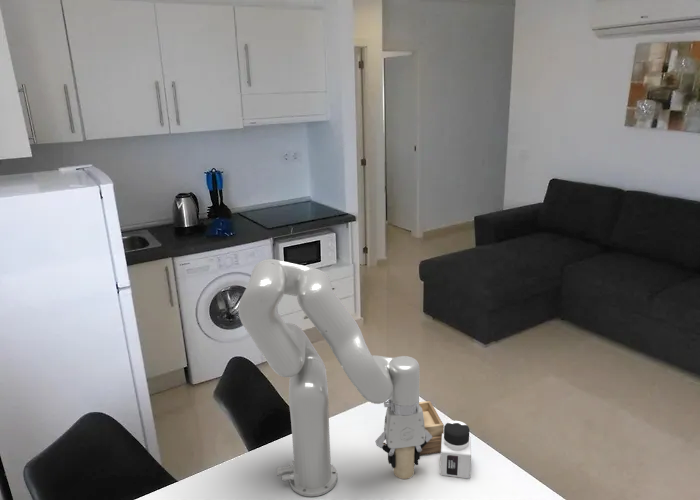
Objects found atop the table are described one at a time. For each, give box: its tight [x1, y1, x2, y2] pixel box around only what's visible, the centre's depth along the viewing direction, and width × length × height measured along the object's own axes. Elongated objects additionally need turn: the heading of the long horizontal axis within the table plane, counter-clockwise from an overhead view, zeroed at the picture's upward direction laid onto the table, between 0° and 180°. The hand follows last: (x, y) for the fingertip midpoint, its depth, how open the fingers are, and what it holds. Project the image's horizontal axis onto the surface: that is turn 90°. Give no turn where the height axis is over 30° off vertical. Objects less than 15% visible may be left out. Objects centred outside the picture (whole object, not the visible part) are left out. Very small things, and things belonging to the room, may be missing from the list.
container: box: [439, 420, 472, 479], centre depth 139 cm, size 8×8×13 cm
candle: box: [392, 446, 415, 480], centre depth 138 cm, size 6×6×10 cm
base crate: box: [420, 436, 442, 456], centre depth 151 cm, size 13×13×5 cm
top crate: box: [419, 400, 445, 437], centre depth 150 cm, size 12×12×4 cm
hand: (403, 462), depth 139 cm, fingers closed on candle, 5 cm apart
